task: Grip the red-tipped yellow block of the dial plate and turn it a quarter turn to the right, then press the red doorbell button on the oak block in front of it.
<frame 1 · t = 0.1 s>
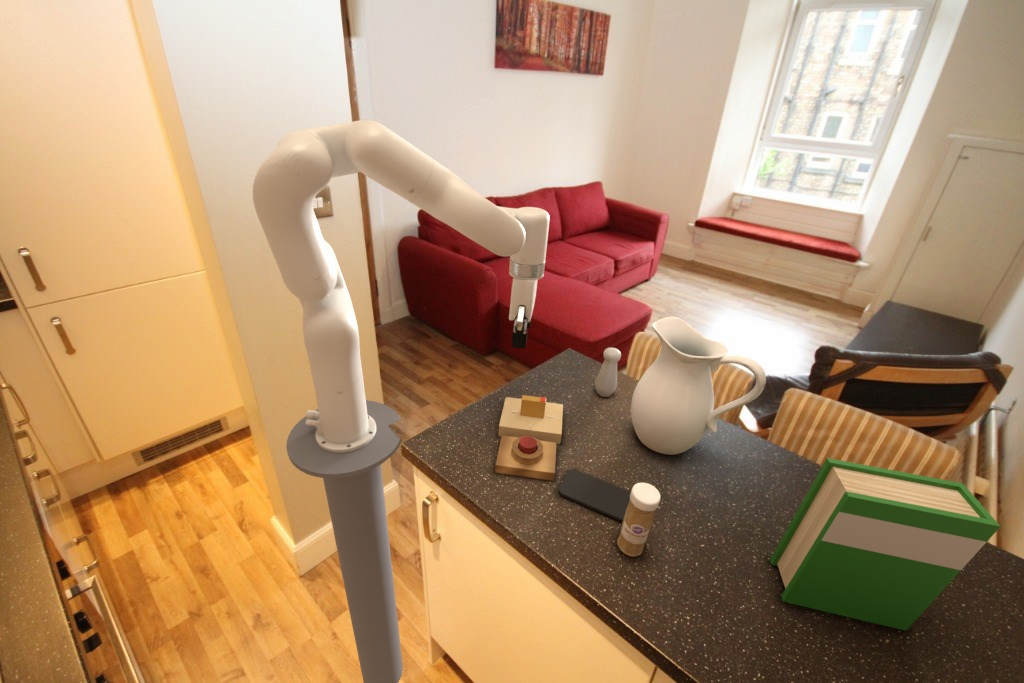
hand: (520, 337, 104), 18 cm above the breakfast bar, tool pointing down, fingers open, 9 cm apart
salt shaker: (604, 393, 118), on the breakfast bar
dial plate: (531, 424, 105), on the breakfast bar
hardback book: (833, 593, 73), on the breakfast bar
phone: (598, 497, 87), on the breakfast bar
sprinkles bottle: (629, 546, 78), on the breakfast bar
wooden button base: (526, 461, 94), on the breakfast bar
red-tipped yellow block: (533, 406, 102), point 5 cm above the breakfast bar, hinge at 0.0°
pitcher: (674, 447, 101), on the breakfast bar
bell button: (527, 445, 92), point 4 cm above the breakfast bar, slide at 0.1 cm
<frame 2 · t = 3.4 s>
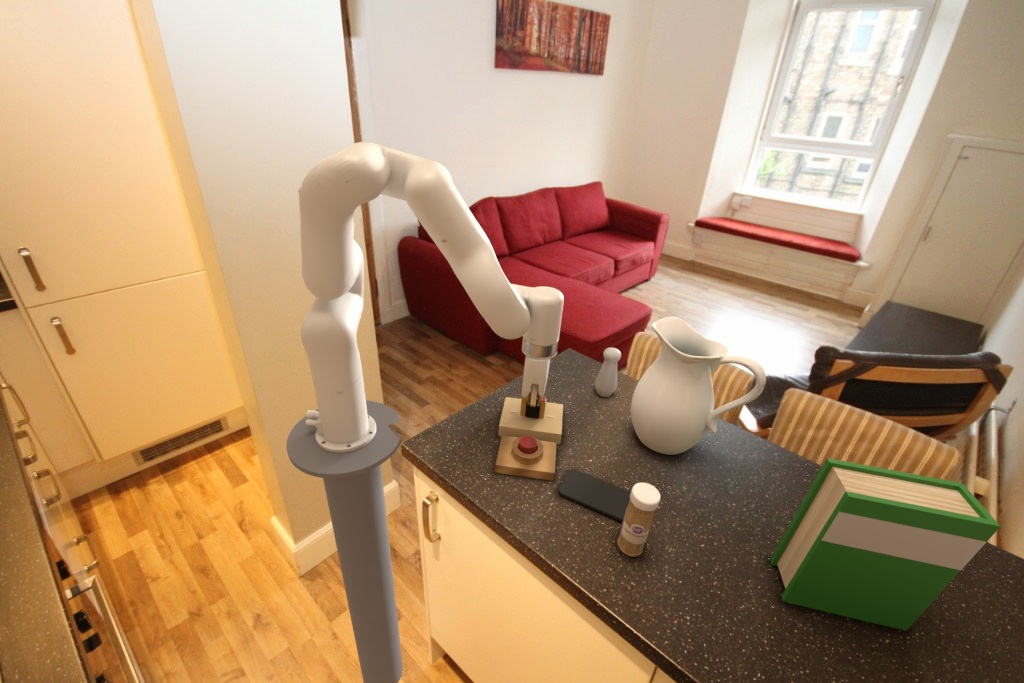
hand: (532, 413, 103), 3 cm above the breakfast bar, tool pointing down, fingers closed on red-tipped yellow block, 2 cm apart
red-tipped yellow block: (533, 406, 102), point 5 cm above the breakfast bar, hinge at 0.0°, touching gripper
everything else where it was.
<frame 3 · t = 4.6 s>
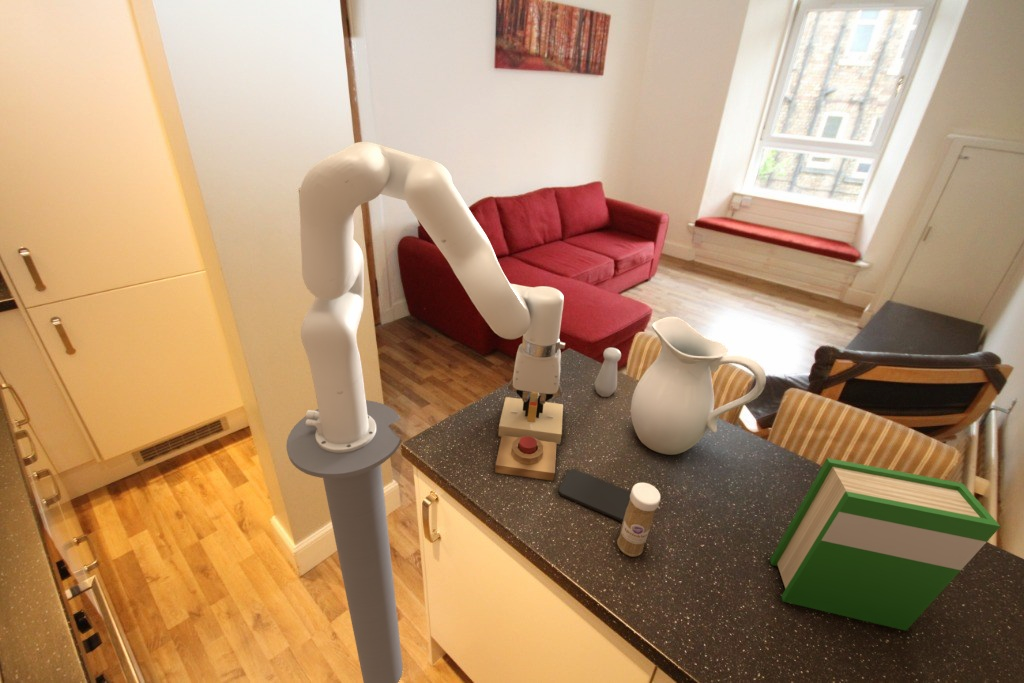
hand: (532, 413, 103), 3 cm above the breakfast bar, tool pointing down, fingers closed on red-tipped yellow block, 2 cm apart
red-tipped yellow block: (533, 406, 102), point 5 cm above the breakfast bar, hinge at -90.0°, touching gripper
everything else where it was.
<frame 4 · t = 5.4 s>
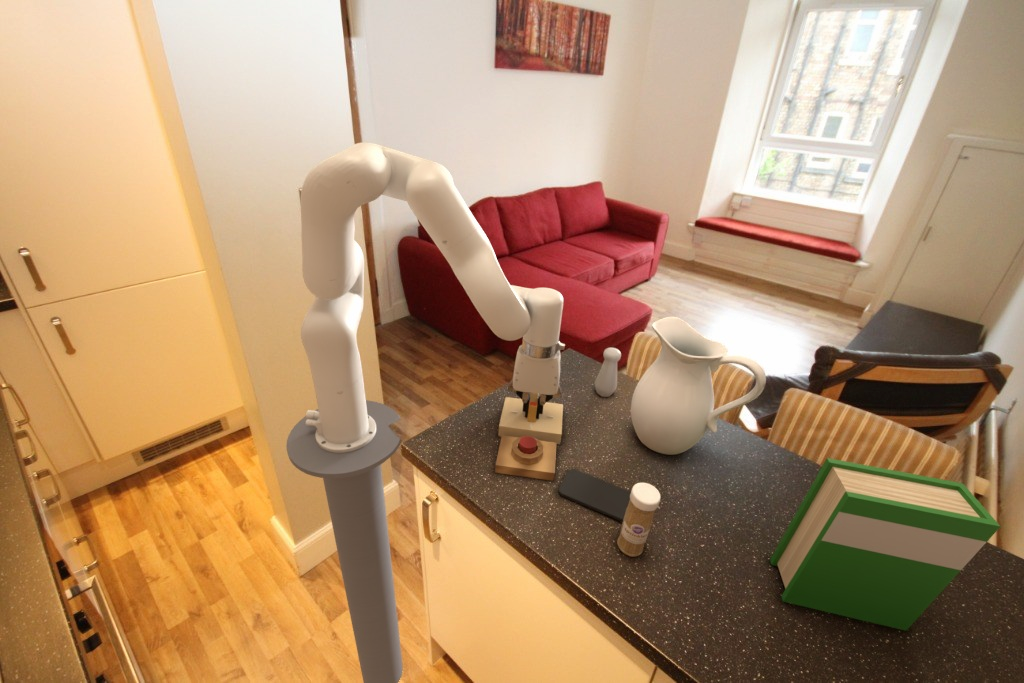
hand: (532, 414, 103), 3 cm above the breakfast bar, tool pointing down, fingers closed on red-tipped yellow block, 2 cm apart
red-tipped yellow block: (533, 406, 102), point 5 cm above the breakfast bar, hinge at -89.9°, touching gripper
everything else where it was.
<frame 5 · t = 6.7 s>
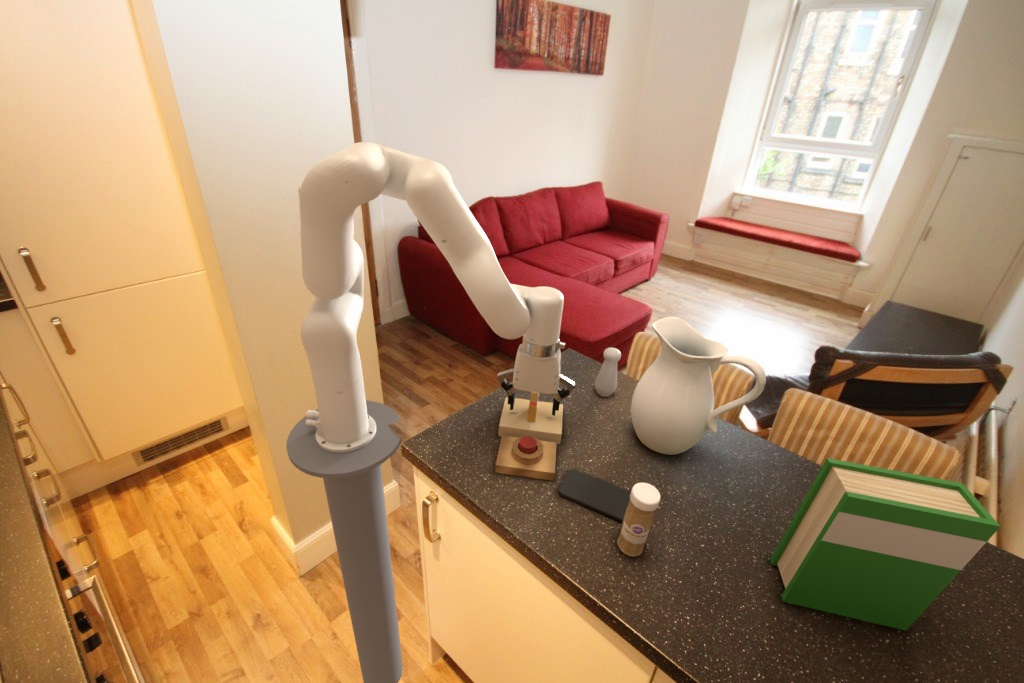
hand: (532, 409, 102), 5 cm above the breakfast bar, tool pointing down, fingers open, 9 cm apart
red-tipped yellow block: (533, 406, 102), point 5 cm above the breakfast bar, hinge at -89.9°
everything else where it was.
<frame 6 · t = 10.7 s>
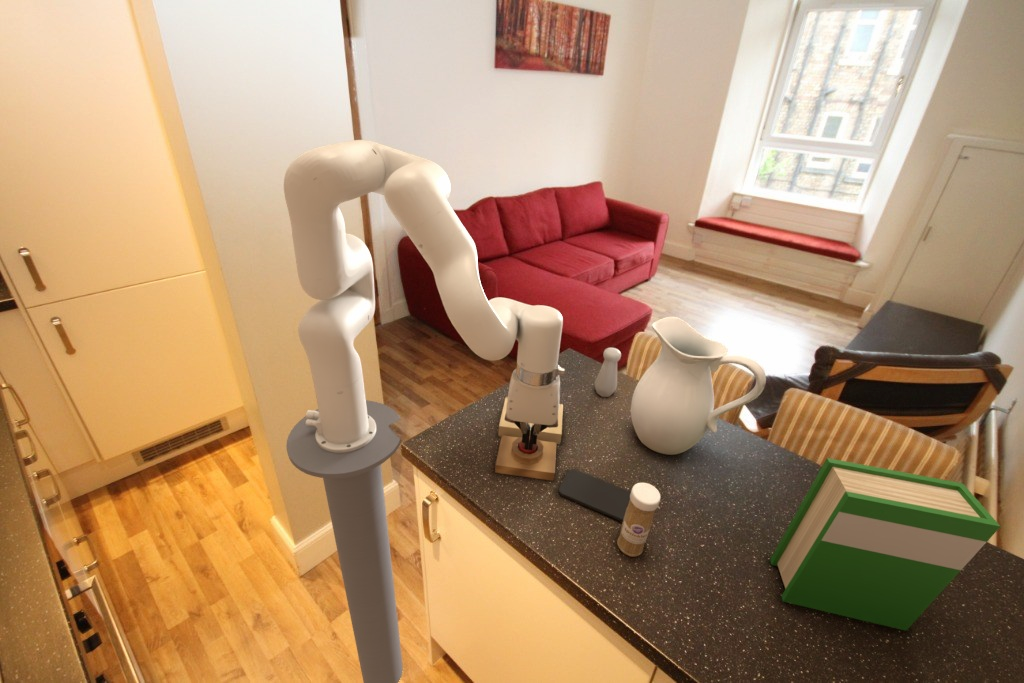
hand: (528, 444, 92), 5 cm above the breakfast bar, tool pointing down, fingers closed
bell button: (527, 448, 92), point 4 cm above the breakfast bar, slide at -0.7 cm, touching gripper
everything else where it was.
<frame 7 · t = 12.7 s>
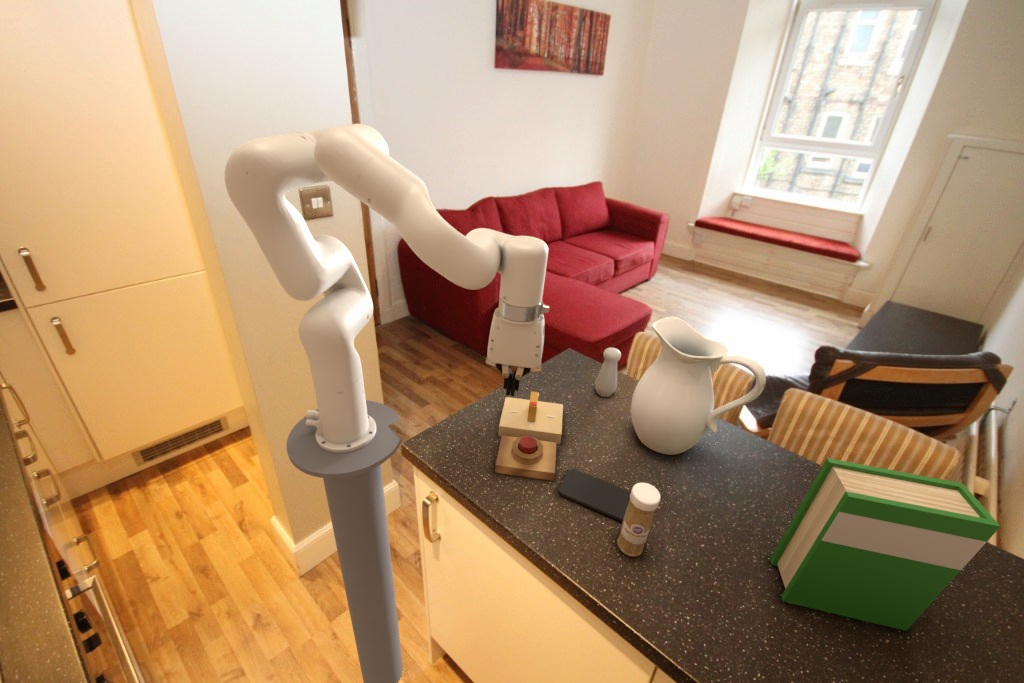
hand: (510, 391, 88), 16 cm above the breakfast bar, tool pointing down, fingers closed
bell button: (527, 445, 92), point 4 cm above the breakfast bar, slide at 0.1 cm
everything else where it was.
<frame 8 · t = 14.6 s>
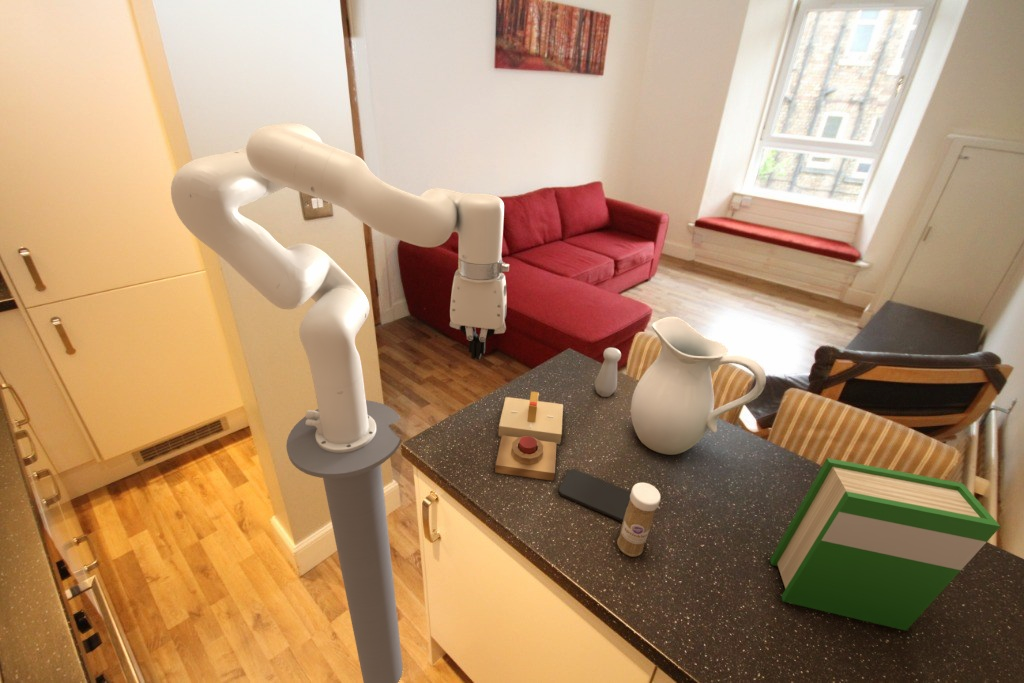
hand: (476, 355, 88), 22 cm above the breakfast bar, tool pointing down, fingers closed
nothing on the breakfast bar moved.
at the end: red-tipped yellow block at -90° (first picture: +0°); bell button pushed in 1.1 cm at the most during the clip, back to where it started at the end; bell button slide at 0.1 cm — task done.
